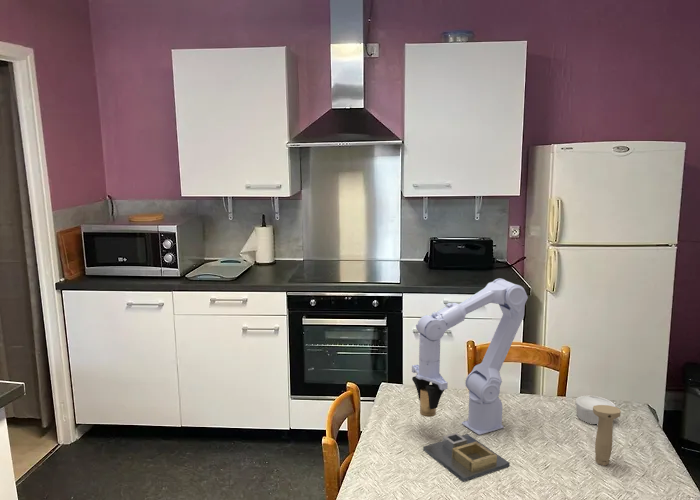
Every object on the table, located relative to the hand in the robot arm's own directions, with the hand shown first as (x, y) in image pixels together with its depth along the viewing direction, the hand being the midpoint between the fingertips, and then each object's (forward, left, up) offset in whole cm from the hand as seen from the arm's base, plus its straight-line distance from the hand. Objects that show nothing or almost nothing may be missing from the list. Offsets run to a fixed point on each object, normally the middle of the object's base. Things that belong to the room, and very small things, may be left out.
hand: (428, 404), depth 160 cm
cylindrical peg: (0, 0, -3) cm, 3 cm away
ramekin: (-51, +15, -10) cm, 54 cm away
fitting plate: (-2, +15, -9) cm, 17 cm away
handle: (-32, +33, -10) cm, 47 cm away
